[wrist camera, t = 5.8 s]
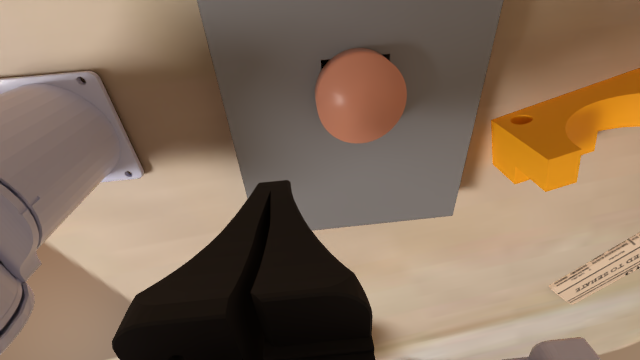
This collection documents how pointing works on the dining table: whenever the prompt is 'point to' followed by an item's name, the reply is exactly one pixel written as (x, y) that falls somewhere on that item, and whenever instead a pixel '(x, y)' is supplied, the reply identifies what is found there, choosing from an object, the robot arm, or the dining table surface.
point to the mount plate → (301, 111)
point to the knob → (360, 95)
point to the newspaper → (600, 271)
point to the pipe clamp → (563, 131)
